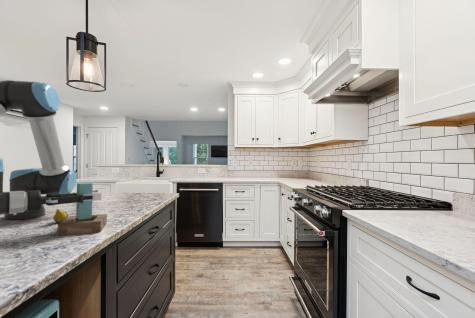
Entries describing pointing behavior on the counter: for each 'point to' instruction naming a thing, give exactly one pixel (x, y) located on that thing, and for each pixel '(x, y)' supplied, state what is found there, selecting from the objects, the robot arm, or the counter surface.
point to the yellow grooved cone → (60, 216)
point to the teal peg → (86, 207)
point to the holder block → (82, 225)
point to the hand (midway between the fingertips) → (99, 195)
